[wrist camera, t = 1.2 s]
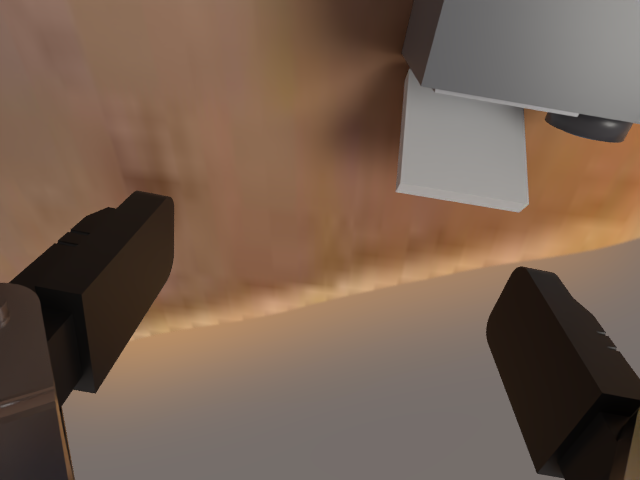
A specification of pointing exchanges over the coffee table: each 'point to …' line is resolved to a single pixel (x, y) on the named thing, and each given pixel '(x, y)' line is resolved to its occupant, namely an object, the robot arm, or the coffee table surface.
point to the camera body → (534, 58)
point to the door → (461, 149)
